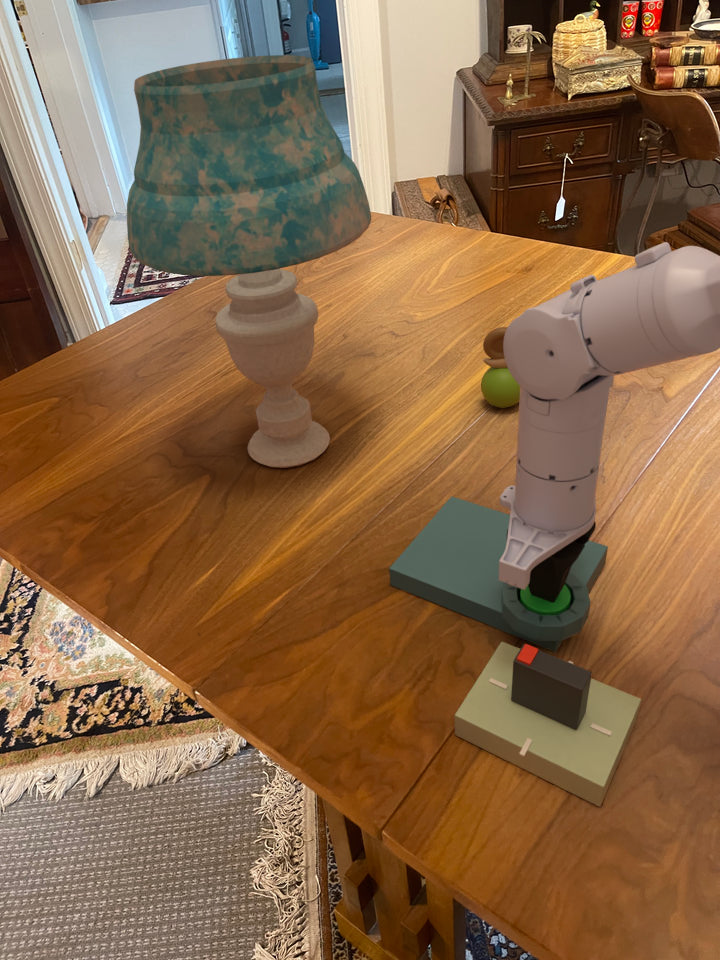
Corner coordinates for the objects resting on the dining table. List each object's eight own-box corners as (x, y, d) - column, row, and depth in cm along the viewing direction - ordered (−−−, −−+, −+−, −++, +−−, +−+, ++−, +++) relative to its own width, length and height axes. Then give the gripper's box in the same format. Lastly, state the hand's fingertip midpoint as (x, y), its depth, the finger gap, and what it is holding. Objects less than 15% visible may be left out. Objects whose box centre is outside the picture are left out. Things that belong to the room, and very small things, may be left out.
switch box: (621, 569, 67) (627, 536, 65) (566, 672, 58) (570, 638, 56) (451, 512, 76) (451, 481, 73) (381, 595, 67) (378, 563, 65)
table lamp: (227, 536, 75) (117, 109, 52) (167, 432, 93) (65, 78, 69) (425, 462, 83) (409, 59, 59) (336, 378, 101) (296, 42, 77)
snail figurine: (536, 414, 89) (542, 322, 82) (483, 417, 90) (484, 326, 82) (529, 391, 94) (534, 303, 86) (478, 394, 94) (479, 306, 87)
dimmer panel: (639, 713, 55) (644, 691, 53) (596, 815, 49) (601, 793, 47) (503, 656, 60) (504, 634, 59) (450, 741, 54) (450, 719, 53)
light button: (576, 601, 61) (578, 586, 60) (557, 633, 59) (559, 618, 58) (531, 585, 63) (532, 570, 62) (511, 615, 61) (512, 600, 60)
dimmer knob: (586, 712, 52) (592, 669, 50) (576, 730, 51) (583, 688, 49) (520, 683, 55) (523, 640, 52) (510, 700, 54) (513, 658, 51)
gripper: (544, 397, 58) (534, 527, 67) (459, 497, 49) (459, 634, 57) (633, 418, 55) (611, 552, 63) (560, 530, 46) (545, 670, 54)
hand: (545, 593), depth 60 cm, fingers closed, pressing on light button
